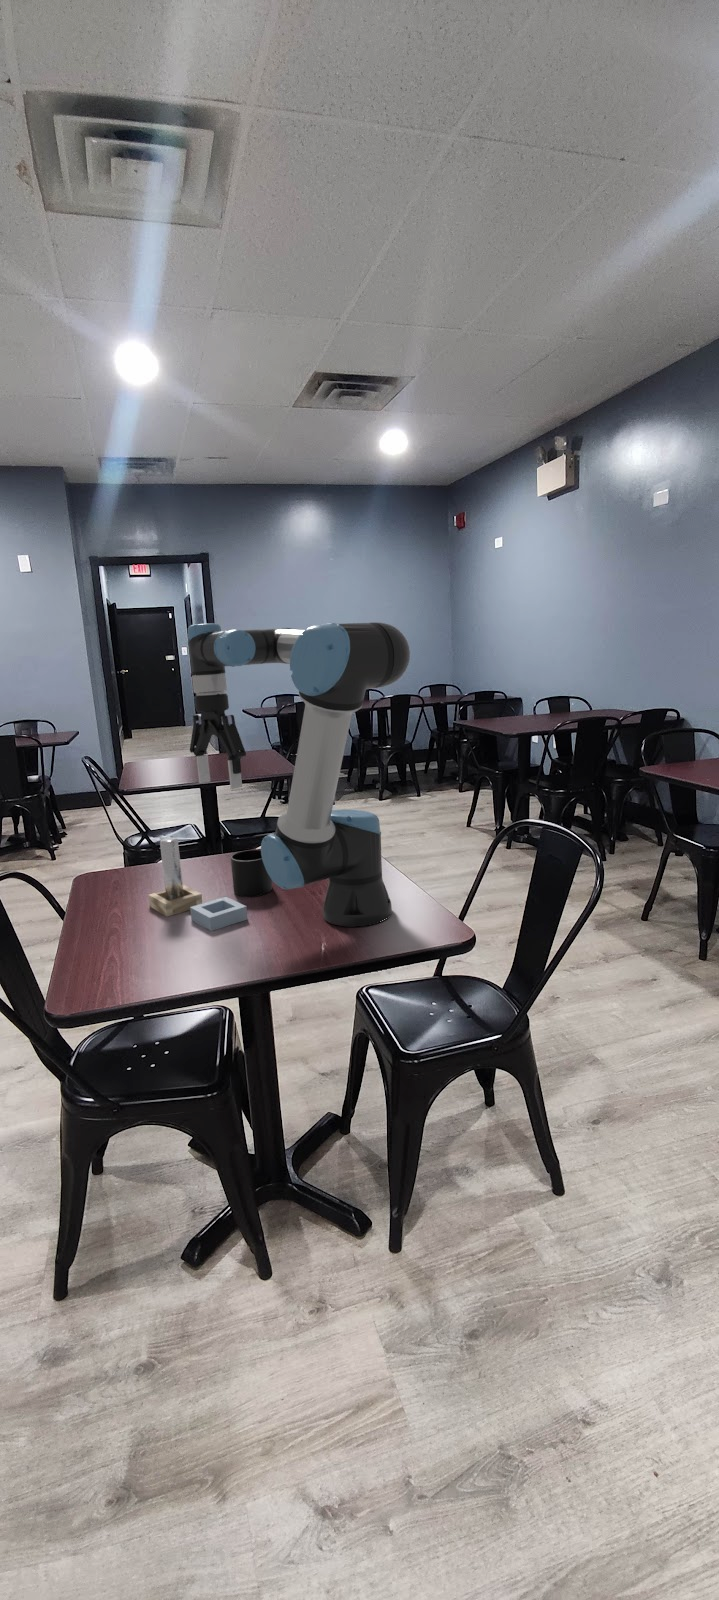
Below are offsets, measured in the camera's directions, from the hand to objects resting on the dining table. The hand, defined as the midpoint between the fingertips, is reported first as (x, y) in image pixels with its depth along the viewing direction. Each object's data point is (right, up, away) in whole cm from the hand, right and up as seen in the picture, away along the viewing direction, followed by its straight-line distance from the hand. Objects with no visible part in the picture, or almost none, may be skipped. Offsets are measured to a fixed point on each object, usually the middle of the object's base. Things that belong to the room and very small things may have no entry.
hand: (220, 785), depth 169 cm
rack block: (-10, -28, 0) cm, 30 cm away
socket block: (+2, -30, -10) cm, 31 cm away
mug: (+6, -26, +9) cm, 28 cm away
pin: (-10, -28, 0) cm, 30 cm away
